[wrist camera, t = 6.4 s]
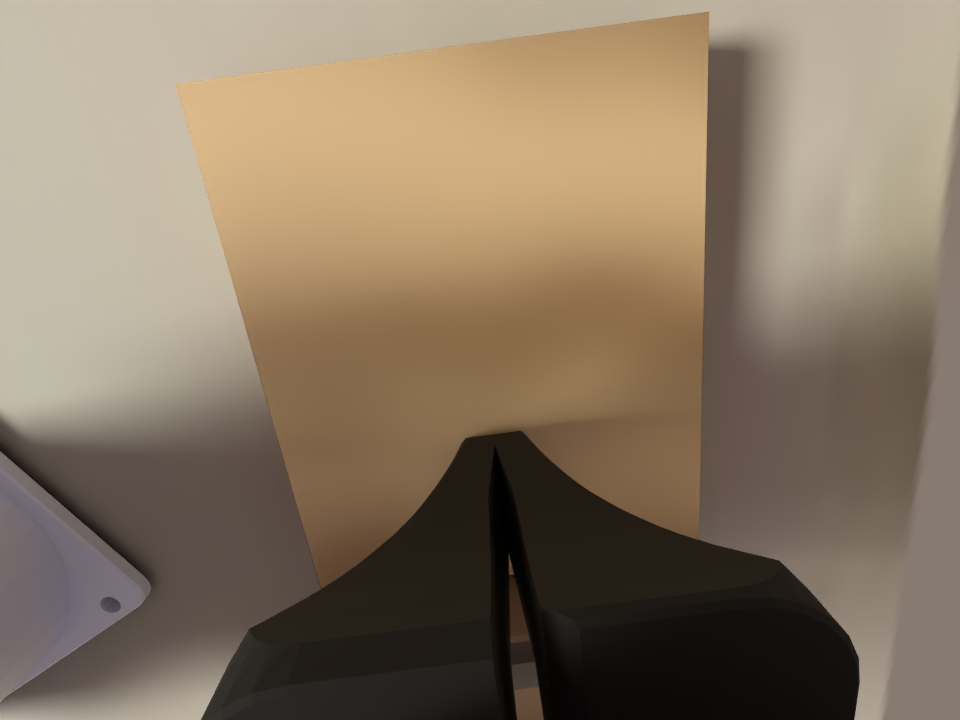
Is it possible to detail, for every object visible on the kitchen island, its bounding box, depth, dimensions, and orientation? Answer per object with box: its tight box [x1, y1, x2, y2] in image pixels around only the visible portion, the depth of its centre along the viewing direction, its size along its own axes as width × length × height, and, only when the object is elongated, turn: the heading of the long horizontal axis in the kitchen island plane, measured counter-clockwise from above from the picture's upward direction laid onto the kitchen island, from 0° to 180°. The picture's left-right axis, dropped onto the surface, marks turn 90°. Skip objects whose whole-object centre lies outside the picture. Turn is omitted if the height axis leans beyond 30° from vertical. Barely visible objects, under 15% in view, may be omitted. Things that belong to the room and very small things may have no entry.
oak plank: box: [176, 12, 709, 589], centre depth 11 cm, size 11×9×2 cm
